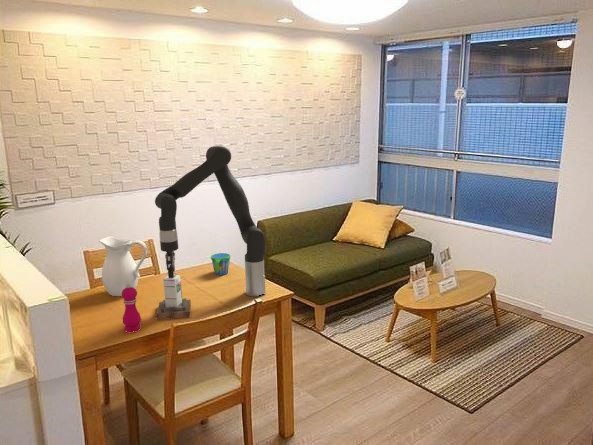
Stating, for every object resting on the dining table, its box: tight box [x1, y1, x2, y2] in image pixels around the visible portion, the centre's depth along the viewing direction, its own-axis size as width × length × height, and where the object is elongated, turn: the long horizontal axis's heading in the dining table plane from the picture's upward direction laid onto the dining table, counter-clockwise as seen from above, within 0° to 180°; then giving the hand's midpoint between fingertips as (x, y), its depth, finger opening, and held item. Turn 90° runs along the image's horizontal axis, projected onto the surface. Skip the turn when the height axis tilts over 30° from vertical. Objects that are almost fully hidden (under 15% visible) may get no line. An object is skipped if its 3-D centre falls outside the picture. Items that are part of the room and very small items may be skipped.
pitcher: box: [98, 235, 148, 297], centre depth 240 cm, size 24×17×28 cm
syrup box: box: [162, 273, 183, 308], centre depth 218 cm, size 6×6×14 cm
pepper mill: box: [121, 284, 142, 333], centre depth 201 cm, size 7×7×20 cm
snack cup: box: [210, 252, 231, 276], centre depth 270 cm, size 16×10×10 cm
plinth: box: [156, 298, 192, 321], centre depth 220 cm, size 14×14×4 cm
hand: (171, 274), depth 216 cm, fingers open, 8 cm apart
